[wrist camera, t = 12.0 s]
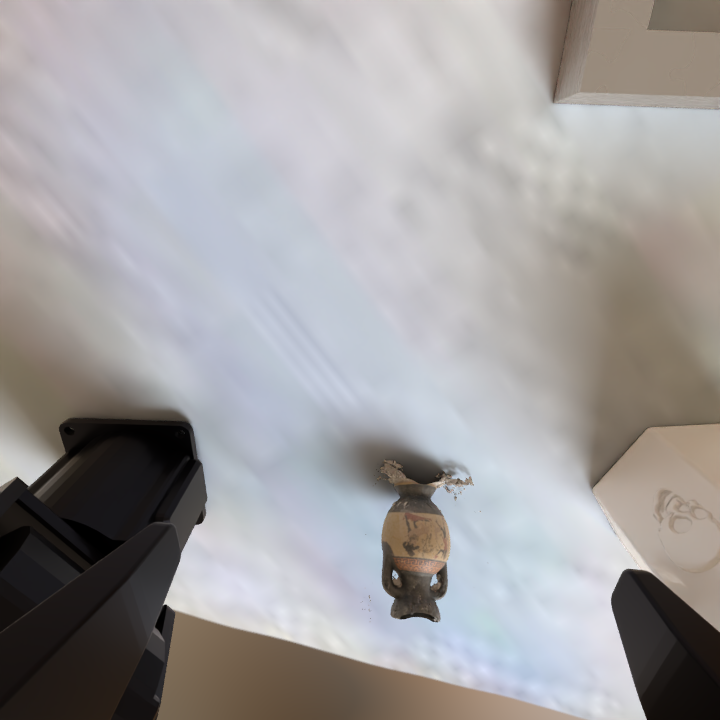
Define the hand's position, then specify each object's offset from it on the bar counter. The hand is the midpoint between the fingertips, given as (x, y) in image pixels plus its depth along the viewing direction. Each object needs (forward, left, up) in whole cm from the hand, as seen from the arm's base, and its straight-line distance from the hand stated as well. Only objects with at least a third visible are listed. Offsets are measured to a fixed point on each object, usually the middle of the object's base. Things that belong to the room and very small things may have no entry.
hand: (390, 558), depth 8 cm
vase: (+3, -10, -12) cm, 16 cm away
